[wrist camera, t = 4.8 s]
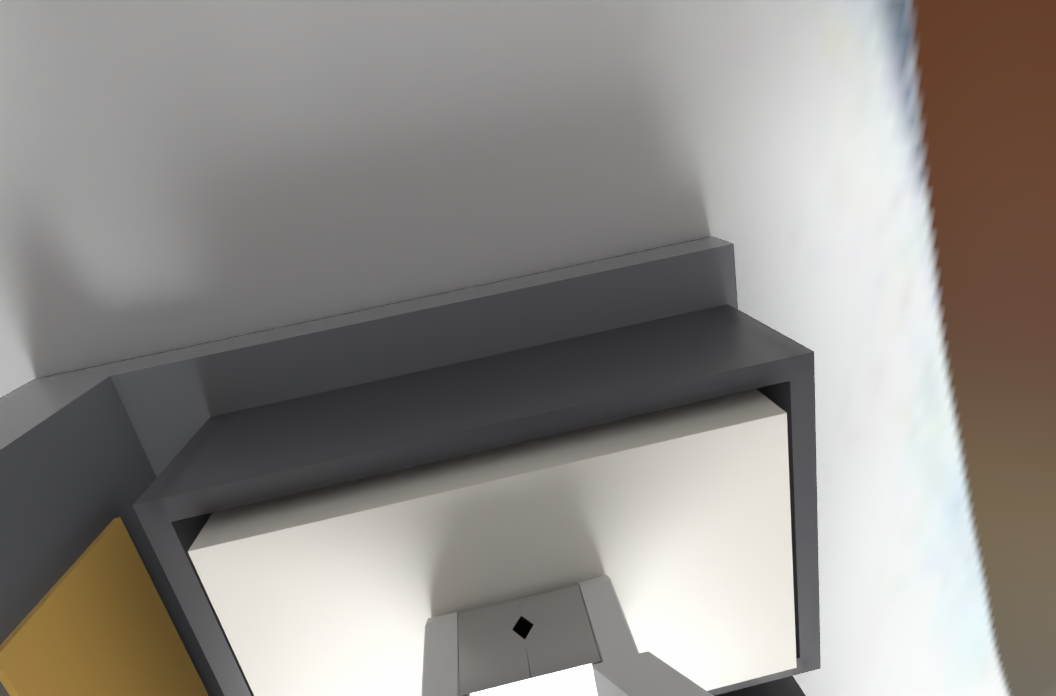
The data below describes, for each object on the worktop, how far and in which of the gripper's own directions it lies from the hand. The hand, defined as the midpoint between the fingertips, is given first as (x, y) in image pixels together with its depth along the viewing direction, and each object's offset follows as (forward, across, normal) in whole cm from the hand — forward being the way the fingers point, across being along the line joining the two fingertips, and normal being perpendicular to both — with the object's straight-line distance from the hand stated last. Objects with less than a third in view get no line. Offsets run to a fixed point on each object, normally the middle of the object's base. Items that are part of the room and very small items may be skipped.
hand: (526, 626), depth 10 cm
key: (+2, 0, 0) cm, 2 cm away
